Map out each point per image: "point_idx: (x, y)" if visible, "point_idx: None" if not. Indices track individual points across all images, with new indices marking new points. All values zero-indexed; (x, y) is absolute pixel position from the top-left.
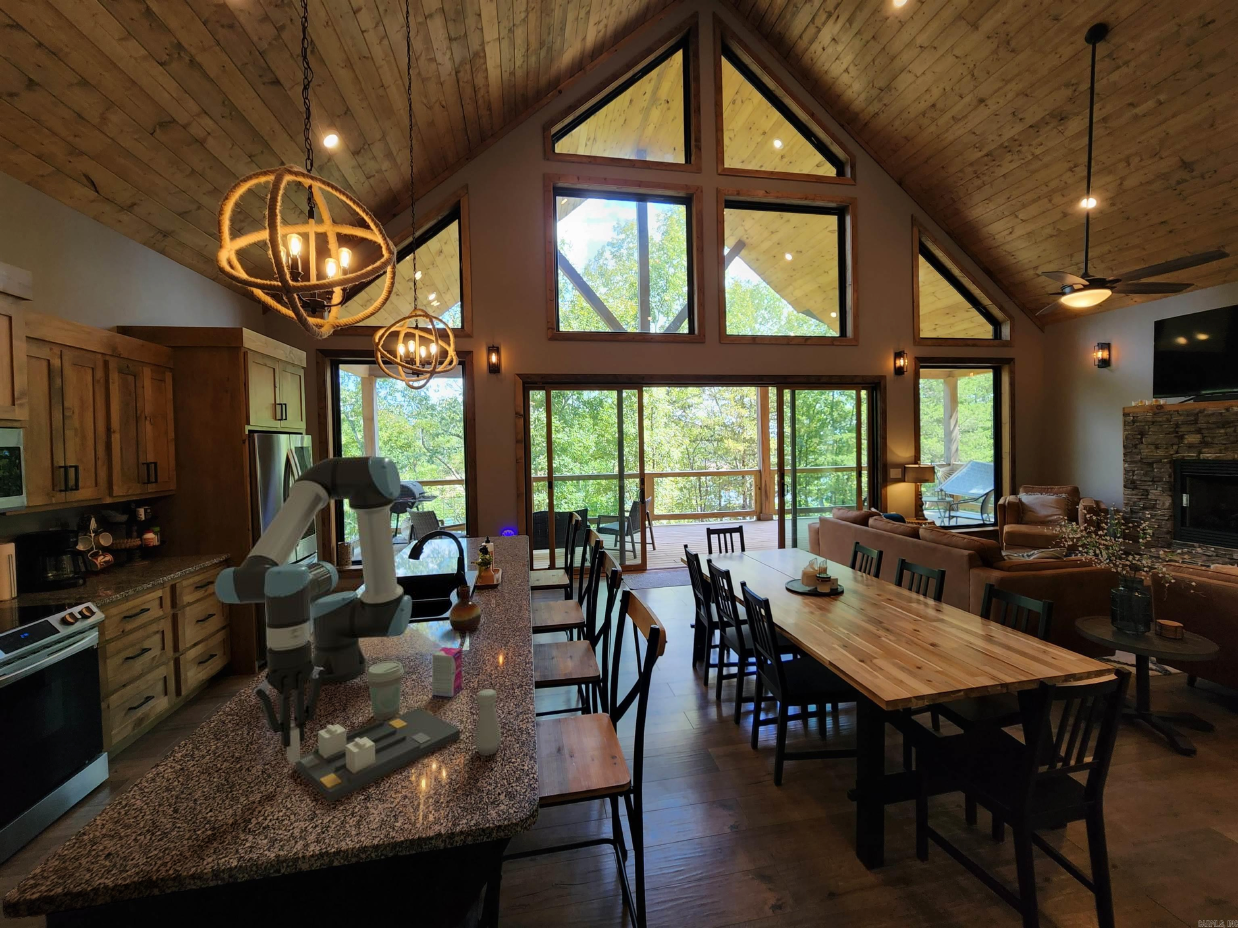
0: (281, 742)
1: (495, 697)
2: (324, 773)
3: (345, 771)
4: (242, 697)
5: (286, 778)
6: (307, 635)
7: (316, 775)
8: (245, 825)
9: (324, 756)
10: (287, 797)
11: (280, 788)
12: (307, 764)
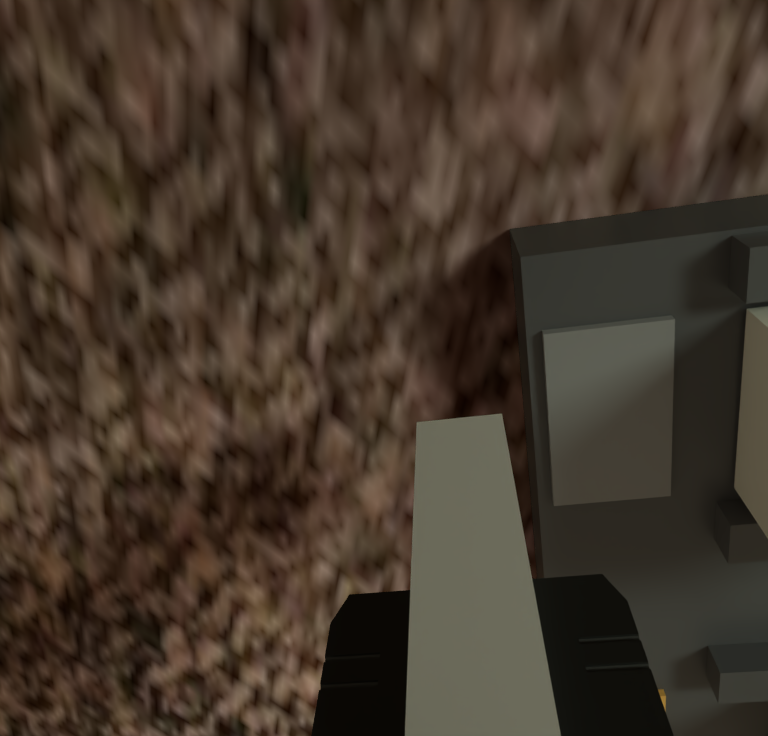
0: (331, 648)
1: None
2: None
3: (743, 715)
4: None
5: (409, 337)
6: None
7: None
8: (134, 658)
9: (740, 449)
10: (367, 572)
11: (346, 443)
12: (572, 461)
